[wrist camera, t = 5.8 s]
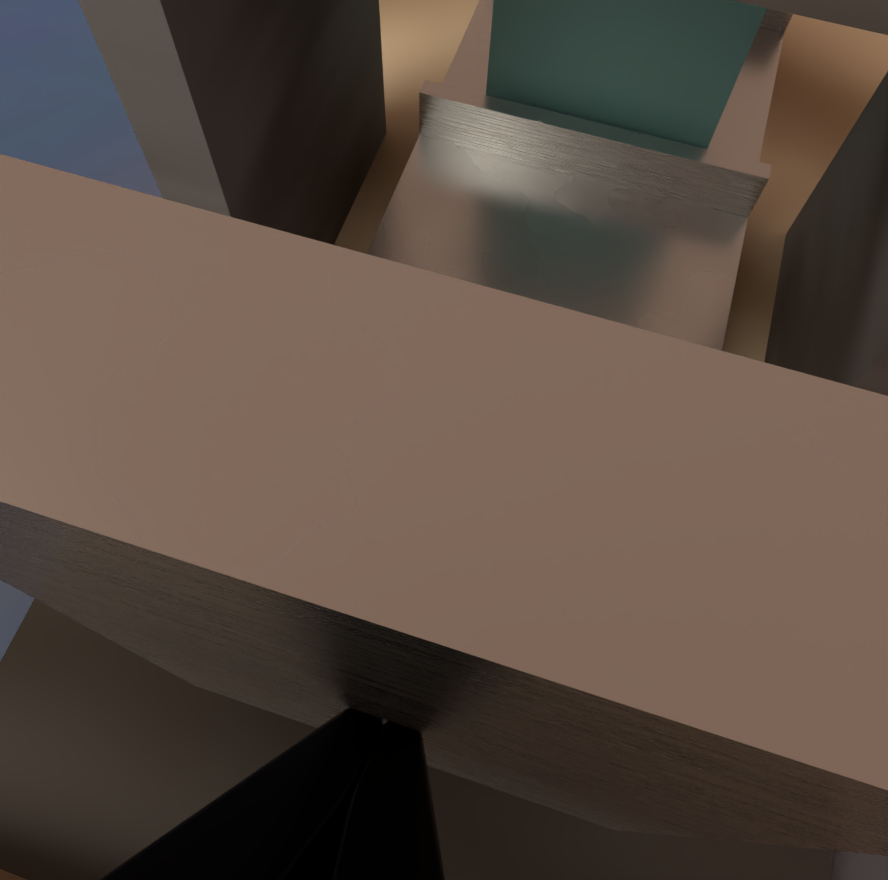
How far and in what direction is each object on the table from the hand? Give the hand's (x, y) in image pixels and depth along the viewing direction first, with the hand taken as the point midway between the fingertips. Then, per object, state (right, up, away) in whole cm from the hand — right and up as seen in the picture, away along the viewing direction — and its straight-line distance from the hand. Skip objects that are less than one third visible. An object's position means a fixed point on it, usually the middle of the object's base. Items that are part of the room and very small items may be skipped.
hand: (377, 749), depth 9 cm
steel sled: (+3, +6, +9) cm, 11 cm away
